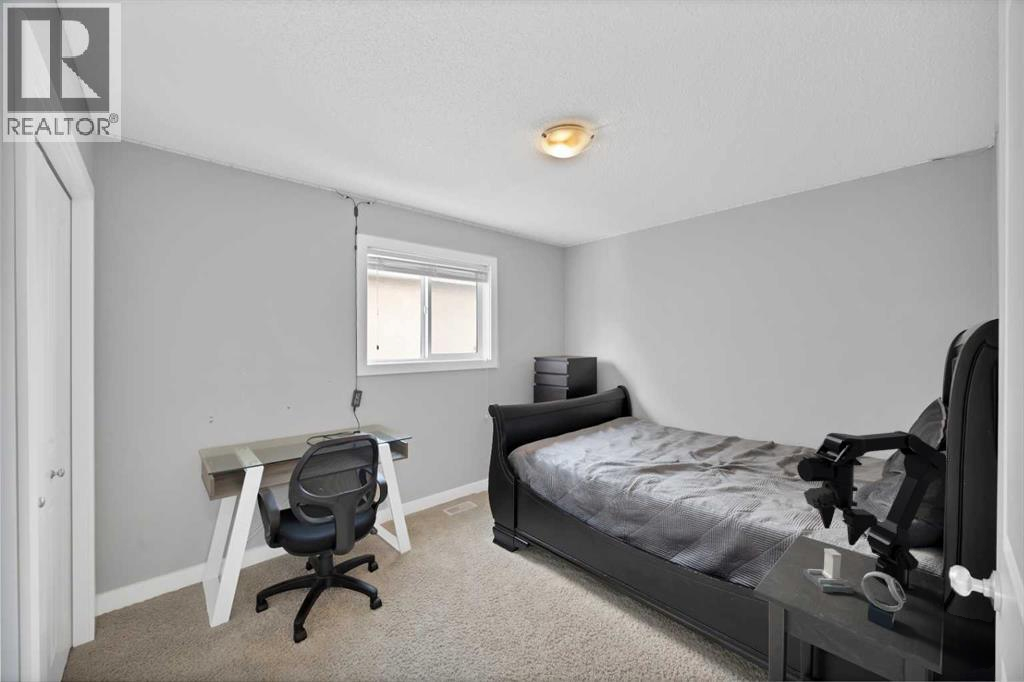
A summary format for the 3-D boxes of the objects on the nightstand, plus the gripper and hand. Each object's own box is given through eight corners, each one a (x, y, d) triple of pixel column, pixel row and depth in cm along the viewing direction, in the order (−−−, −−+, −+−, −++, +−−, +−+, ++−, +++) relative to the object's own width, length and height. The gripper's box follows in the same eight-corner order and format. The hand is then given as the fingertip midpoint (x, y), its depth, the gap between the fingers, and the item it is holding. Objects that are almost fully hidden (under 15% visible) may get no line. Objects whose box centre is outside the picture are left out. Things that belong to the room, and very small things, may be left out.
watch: (903, 634, 96) (905, 587, 95) (858, 615, 102) (860, 571, 101) (906, 623, 99) (908, 578, 99) (862, 606, 105) (864, 563, 105)
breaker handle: (832, 574, 116) (834, 548, 116) (841, 581, 113) (842, 555, 113) (821, 574, 116) (823, 548, 116) (830, 580, 113) (831, 554, 113)
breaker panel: (831, 575, 118) (832, 567, 118) (853, 593, 110) (854, 584, 110) (803, 574, 119) (803, 565, 119) (822, 592, 111) (823, 582, 111)
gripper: (788, 468, 124) (787, 520, 124) (834, 493, 105) (833, 554, 106) (827, 469, 123) (826, 521, 124) (880, 494, 105) (878, 555, 105)
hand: (838, 536), depth 115 cm, fingers open, 9 cm apart
